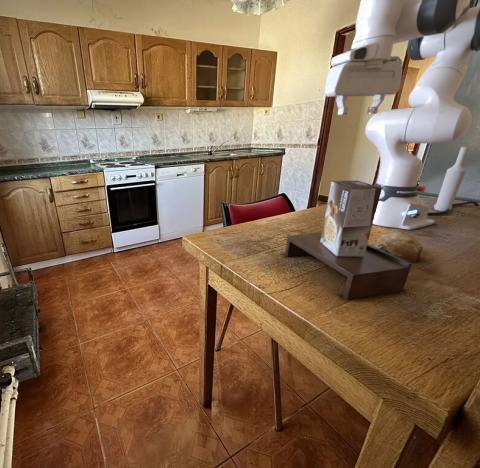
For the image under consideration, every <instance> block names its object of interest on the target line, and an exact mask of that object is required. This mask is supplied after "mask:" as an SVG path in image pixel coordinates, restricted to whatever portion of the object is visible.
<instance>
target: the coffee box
mask: <svg viewBox="0 0 480 468" xmlns="http://www.w3.org/2000/svg"><path fill="white" fill-rule="evenodd" d="M381 190H382V187H378V186H375V185H374V184H371V183H368V182H364V181H360V180H333V181H331V182H330V188H329V194H328V198H327V202H326V203H327V204H326V209H325V215H324V220H323V225H322V230H321V232H322V235H321V240H320V242H321V243H322V244H323V245H324V246H325V247H327V248H328V249H329V250H330V251H331V252H332V253H334V254H335V255H336V256H348V257H363V256H364V255H365V251H366V247H367V244H368V243H369V239H370V235H371V231H372V228H373V226H374V224H373V221H374V217H375V213H376V209H377V206H378V202H379V198H380V194H381Z"/></svg>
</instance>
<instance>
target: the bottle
mask: <svg viewBox="0 0 480 468" xmlns="http://www.w3.org/2000/svg"><path fill="white" fill-rule="evenodd" d="M469 149H470V147H469V146H461V147H460V150H459V152H458V155H457V158H456V161H455V163H454V164H453V166H451V167H449V168H447V169H446V172H445V176H444V179H443V181H442V185H441V188H440V190H439V194H438V197H437V199H436V200H437V201H436V202H435V204H434V205H433V210H435V211H438V212H444V211H446V209H450V210H449V212H450V211H451V210H452V209H453V206H452V204H454V201H455V199H456V196H457V194H458V192H459V189H460V186H461V184H462V181H463V179H464V177H465V175H466V173H467V169H466V168H465V167H464V161H465V158H466V156H467V153H468V152H469Z"/></svg>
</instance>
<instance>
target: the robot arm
mask: <svg viewBox="0 0 480 468" xmlns="http://www.w3.org/2000/svg"><path fill="white" fill-rule="evenodd" d="M472 2H473V0H360V3H359V7H358V11H357V16H356V21H355V35H354V38H353V41H352V43H351V47H350V49H349V50H346V51H345V52H343V53H340V54H337V55H335V56H334V57H332V58H331V61H330V66H331V68H330V69H329V71H328V74H327V78H326V81H325V86H324V94H325V96H326V97H327V98H336V100H335V103H336V106H337V108H338V110H337V115H338V116H346V115H347V114H348V113H349V107H348V106H346V101H347V100H348V97H373V98H372V101H373V102H372V104H371V106H370V107H367V112H366V114H367V115H372V116H371V117H370V119H369V120H368V121H367V123H366V125H365V129H364V133H365V137H366V139H367V140H368V141H369V142H371V143H372V145H374V146H375V148H376V149H377V152H378V154H379V161H380V162H379V169H378V174H377V178H376V181H375V182H374V184H373V185H375V186H378V187H382V190H381V194H380V198H379V202H378V206H377V209H376V213H375V217H374V221H373V225H376V226H380V227H385V228H394V229H403V230H407V231H411V230H417V229H419V228H420V229H421V228H423V227H427V226H431V225H434V224H435V222H436V221H435V220H434V219H432V218H429V217H428V216H437V215H446V214H448V213H449V212H450V211H451V210H450V209H446V211H438V212H437V211H436V212H435V211H434V212H429V210H430V209H429V205H427V204H426V203H425V202H424V201H423V200H422V199H421V197H419V192H420V193H424V192H425V191H426V186H425V185H418V183H419V179H420V176H421V172H422V170H423V167H424V165H423V161H422V160H421V159H420V158H419V157H418V156H416V155H415V154H412V153H410V152H408V150H407V144H441V143H446V142H447V143H448V142H454V141H455V140H456V141H457V139H459V138H460V137H462V136H463V135H465V133H467V131H468V130H469V128H470V127H471V124H472V121H473V115H472V112H471V111H470V109H469V108H468V107H467V106H465V105H462V104H459V103H458V102H457V101H456V100H455V95H456V93H457V91H458V89H459V87H460V86H461V84H462V82H463V80H464V79H465V76H466V74H467V71H468V67H469V63H470V55H471V54H472V52H473V51H475V52H480V5H477V6H473V7H471V5H472ZM404 42H407V45H406V46H407V47H406V53H407V57H408V58H409V59H410V60H411V61H423V60H426V59H430V58H434V57H435V59H434V60H433V61H432V62H431V63H430V64H429V65H428V67H427V68H426V69H425V70H424V71H423V73H422V74H421V76H420V77H419V79H418V80H417V82H416V84H414V86H413V88H412V90H411V91H410V94H409V96H408V98H407V99H408V101H407V102H408V105H409V107H406V108H404V107H403V108H394V109H388V110H383V111H380V112H378V110H379V107H380V106H381V104H382V103H383V102H384V100H385V97H387V96H393V95H396V94H397V93H398V91H400V88H401V83H402V78H403V60H402V59H401V58H400V56H399V55H393V56H392V52H393V47H394V45H395V44H399V43H404ZM465 205H474V206H477V207H478V206H480V205H479V203H478V202H477V201H475V200H474V201H471V200H470V201H464V202H459V203H453V204H452V207H459V206H465ZM449 210H450V211H449Z"/></svg>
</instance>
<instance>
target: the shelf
mask: <svg viewBox="0 0 480 468" xmlns="http://www.w3.org/2000/svg"><path fill="white" fill-rule="evenodd" d="M321 235H322V231H319V232H312V233H302V234H294V235H292V234H291V235H287V236H286V237H287V238H286V244H285V252H284V256H286V257H289V258H290V257H297V256H303V255H311V256H312V257H314V258H316V259H317V260H319V261H321V263H324V264H326V265H327V266H329V267H331V268H332V269H334V270H335V271H337V272H338V273H340V274H342V275H343V276H345V277H347V278H346V281H345V286H344V290H343V293H342V298H343V299H346V300H354V299H361V298H365V297H373V296H380V295H387V294H392V293H397V292H398V293H399V292H403V291H404V289H405V286H406V282H407V279H408V277H409V274H410V271H411V269H412V265H413V263H412V262H407V261H405V260H403V259H401V258H398V257H396V256H394V255H391V254H389V253H387V252H385V251H382V250H380V249H378V248H375V246H373V245H370V244H368V243H367V247H366V251H365V255H364V256H363V257H348V256H336V255H335V254H334V253H332V252H331V251H330V250H329V249H328V248H327V247H325V246H324V245H323V244H322V243H321V242H320V240H321Z"/></svg>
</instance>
